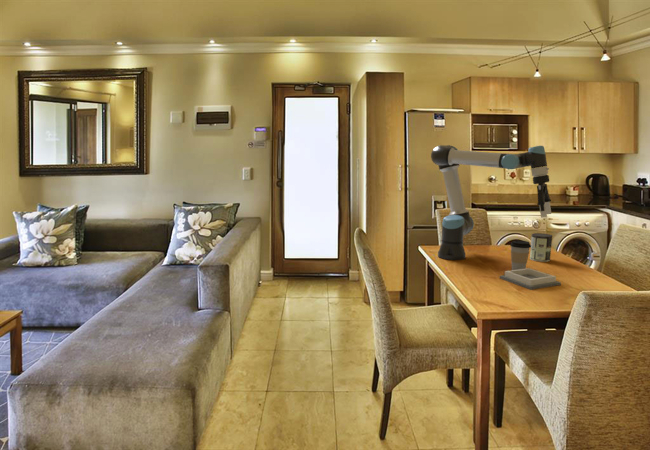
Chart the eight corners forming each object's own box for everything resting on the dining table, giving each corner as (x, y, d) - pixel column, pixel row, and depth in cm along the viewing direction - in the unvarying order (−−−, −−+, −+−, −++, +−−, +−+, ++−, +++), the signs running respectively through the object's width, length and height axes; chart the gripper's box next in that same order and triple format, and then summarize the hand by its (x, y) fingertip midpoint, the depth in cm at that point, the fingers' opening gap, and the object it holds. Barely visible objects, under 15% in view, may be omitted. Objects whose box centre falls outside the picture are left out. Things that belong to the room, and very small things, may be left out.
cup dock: (499, 278, 194) (500, 270, 194) (528, 274, 200) (528, 266, 200) (530, 289, 178) (531, 281, 177) (560, 284, 184) (561, 277, 183)
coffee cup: (511, 267, 213) (513, 239, 210) (530, 270, 207) (533, 241, 204) (505, 271, 205) (508, 242, 203) (526, 274, 199) (528, 244, 197)
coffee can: (544, 257, 233) (546, 233, 231) (553, 261, 223) (556, 236, 221) (526, 257, 233) (528, 233, 231) (534, 261, 223) (537, 236, 221)
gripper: (544, 175, 201) (550, 217, 202) (552, 173, 221) (557, 212, 222) (527, 178, 206) (533, 219, 207) (537, 175, 225) (542, 213, 226)
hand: (546, 215), depth 214 cm, fingers open, 13 cm apart
